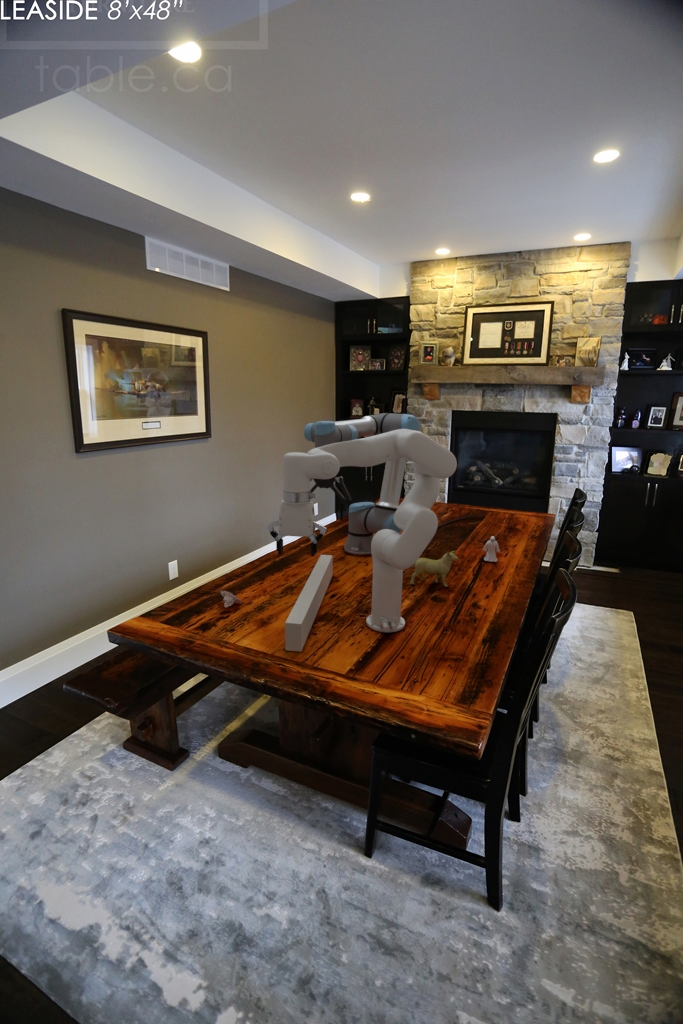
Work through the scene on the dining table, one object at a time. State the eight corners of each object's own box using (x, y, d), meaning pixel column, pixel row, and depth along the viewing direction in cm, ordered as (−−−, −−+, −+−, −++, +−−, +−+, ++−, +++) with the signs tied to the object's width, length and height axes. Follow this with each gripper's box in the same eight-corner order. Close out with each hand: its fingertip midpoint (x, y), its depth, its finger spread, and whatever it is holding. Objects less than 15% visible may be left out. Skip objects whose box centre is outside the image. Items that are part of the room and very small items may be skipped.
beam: (301, 651, 145) (301, 624, 143) (285, 650, 145) (285, 622, 143) (332, 575, 203) (332, 555, 201) (320, 574, 204) (321, 554, 202)
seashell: (226, 615, 174) (211, 598, 174) (236, 605, 178) (222, 588, 177) (235, 611, 168) (219, 593, 168) (245, 600, 172) (230, 583, 171)
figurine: (481, 562, 222) (483, 536, 219) (482, 556, 230) (484, 531, 227) (499, 564, 220) (501, 538, 217) (499, 558, 228) (501, 533, 225)
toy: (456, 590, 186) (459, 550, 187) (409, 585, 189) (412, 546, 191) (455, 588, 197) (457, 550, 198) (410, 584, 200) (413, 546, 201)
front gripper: (329, 495, 143) (328, 552, 148) (270, 492, 146) (271, 548, 150) (324, 501, 136) (324, 560, 140) (263, 498, 138) (264, 556, 142)
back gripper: (359, 463, 188) (357, 517, 193) (294, 460, 191) (294, 514, 196) (357, 466, 181) (355, 522, 186) (289, 463, 184) (289, 519, 189)
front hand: (296, 554), depth 145 cm, fingers open, 9 cm apart
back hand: (324, 518), depth 191 cm, fingers open, 13 cm apart
